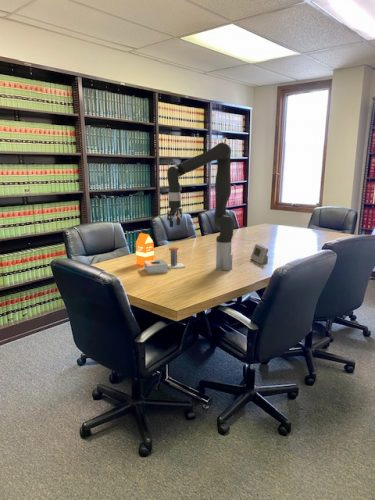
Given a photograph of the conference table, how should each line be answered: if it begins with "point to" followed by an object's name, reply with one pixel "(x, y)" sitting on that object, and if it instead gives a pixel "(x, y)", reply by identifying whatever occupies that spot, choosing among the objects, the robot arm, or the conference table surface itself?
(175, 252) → the key
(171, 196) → the robot arm
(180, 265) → the pad
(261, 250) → the digital clock
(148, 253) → the orange juice
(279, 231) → the conference table surface
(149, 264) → the block
